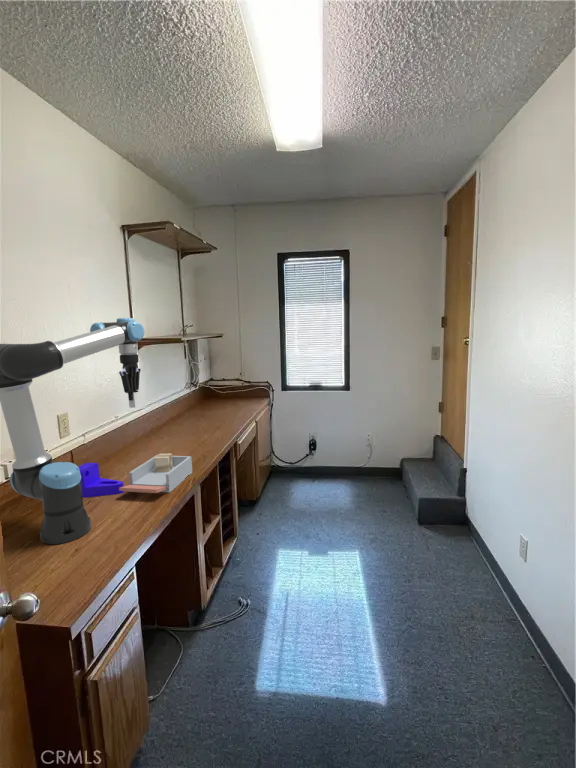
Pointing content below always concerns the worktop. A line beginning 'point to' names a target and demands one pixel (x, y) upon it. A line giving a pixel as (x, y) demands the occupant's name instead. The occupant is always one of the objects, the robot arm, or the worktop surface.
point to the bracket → (97, 482)
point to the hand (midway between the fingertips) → (133, 407)
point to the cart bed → (162, 473)
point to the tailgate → (142, 488)
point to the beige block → (163, 463)
